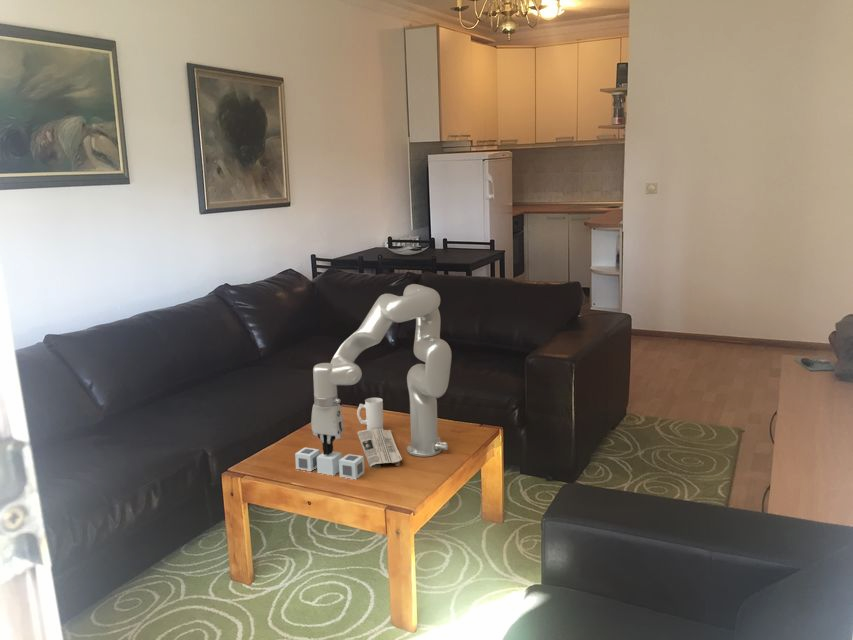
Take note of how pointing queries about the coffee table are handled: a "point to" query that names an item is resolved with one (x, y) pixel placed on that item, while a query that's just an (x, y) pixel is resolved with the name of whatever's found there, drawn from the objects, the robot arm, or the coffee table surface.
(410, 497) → the coffee table surface
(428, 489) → the coffee table surface
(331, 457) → the plain block
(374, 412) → the mug
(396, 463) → the newspaper
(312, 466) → the marked block far
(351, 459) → the marked block near
